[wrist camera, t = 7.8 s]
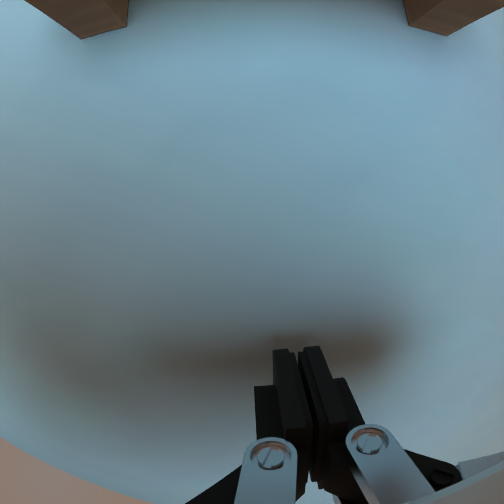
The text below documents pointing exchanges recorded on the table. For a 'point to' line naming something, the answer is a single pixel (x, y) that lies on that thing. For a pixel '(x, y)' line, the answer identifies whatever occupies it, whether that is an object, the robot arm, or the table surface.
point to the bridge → (116, 3)
